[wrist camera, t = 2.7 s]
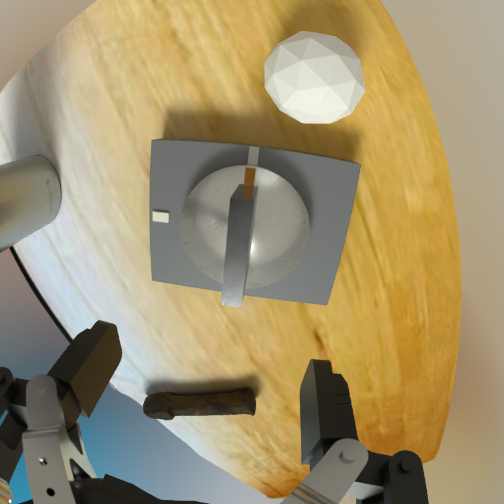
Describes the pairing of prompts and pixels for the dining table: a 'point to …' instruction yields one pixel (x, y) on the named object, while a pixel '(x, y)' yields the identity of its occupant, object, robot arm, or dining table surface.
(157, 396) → the hand tool
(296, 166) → the dial panel
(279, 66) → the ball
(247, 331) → the dining table surface
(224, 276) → the dial knob
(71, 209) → the dining table surface
